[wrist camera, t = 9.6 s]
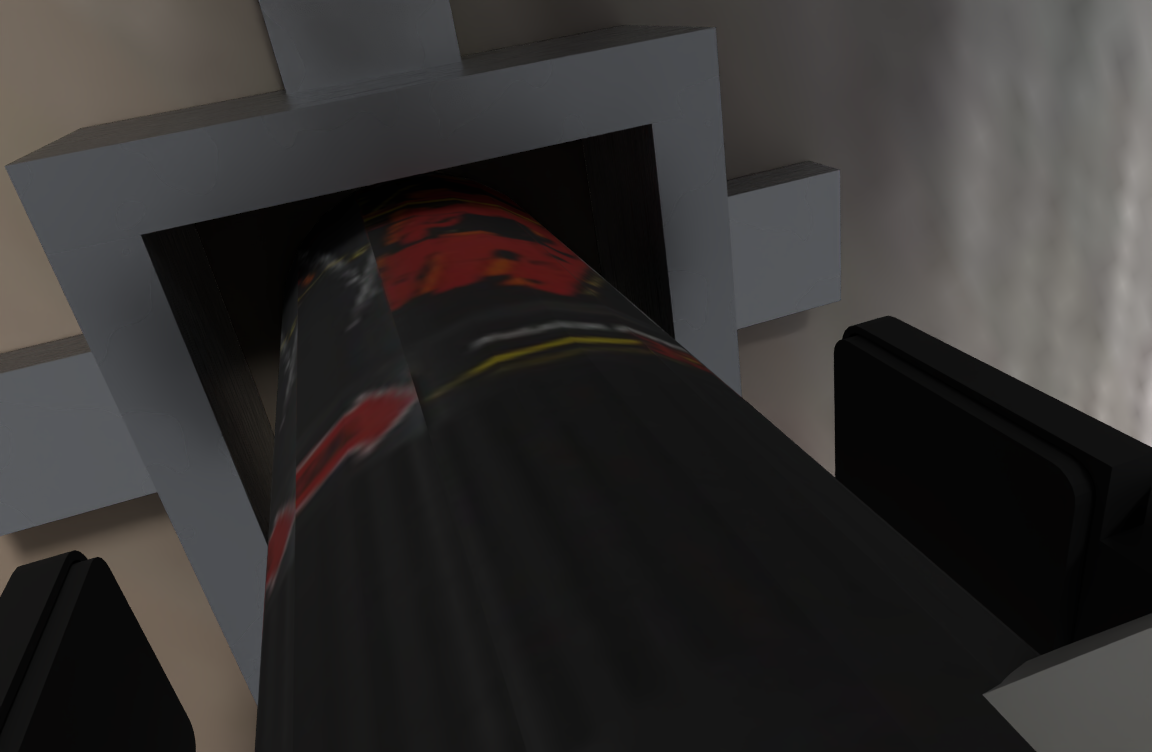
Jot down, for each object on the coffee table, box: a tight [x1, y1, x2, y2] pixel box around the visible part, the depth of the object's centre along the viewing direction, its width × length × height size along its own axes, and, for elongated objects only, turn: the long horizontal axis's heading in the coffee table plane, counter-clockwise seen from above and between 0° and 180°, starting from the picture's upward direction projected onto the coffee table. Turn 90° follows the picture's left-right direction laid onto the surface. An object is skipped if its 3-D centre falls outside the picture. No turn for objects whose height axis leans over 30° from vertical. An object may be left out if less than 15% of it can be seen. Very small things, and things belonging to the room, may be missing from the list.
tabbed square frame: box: [0, 0, 841, 706], centre depth 15 cm, size 18×18×4 cm
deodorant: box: [255, 173, 1041, 752], centre depth 10 cm, size 6×6×15 cm
